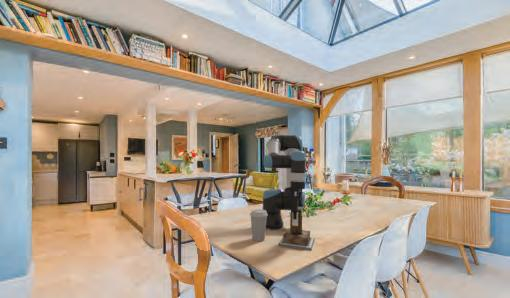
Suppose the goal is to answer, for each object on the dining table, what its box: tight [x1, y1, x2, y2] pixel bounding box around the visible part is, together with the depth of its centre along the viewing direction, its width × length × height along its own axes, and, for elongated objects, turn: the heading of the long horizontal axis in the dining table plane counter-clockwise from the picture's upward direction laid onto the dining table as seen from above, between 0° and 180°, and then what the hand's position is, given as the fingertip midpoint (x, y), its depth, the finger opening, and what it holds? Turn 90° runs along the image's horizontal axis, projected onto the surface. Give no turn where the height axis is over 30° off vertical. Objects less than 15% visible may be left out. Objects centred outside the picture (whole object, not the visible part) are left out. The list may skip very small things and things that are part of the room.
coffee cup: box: [249, 208, 268, 243], centre depth 125 cm, size 10×10×15 cm
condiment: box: [288, 209, 308, 236], centre depth 121 cm, size 7×8×12 cm
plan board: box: [277, 236, 315, 251], centre depth 121 cm, size 16×16×1 cm
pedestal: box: [282, 227, 311, 246], centre depth 121 cm, size 12×12×4 cm
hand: (297, 222), depth 122 cm, fingers open, 13 cm apart
